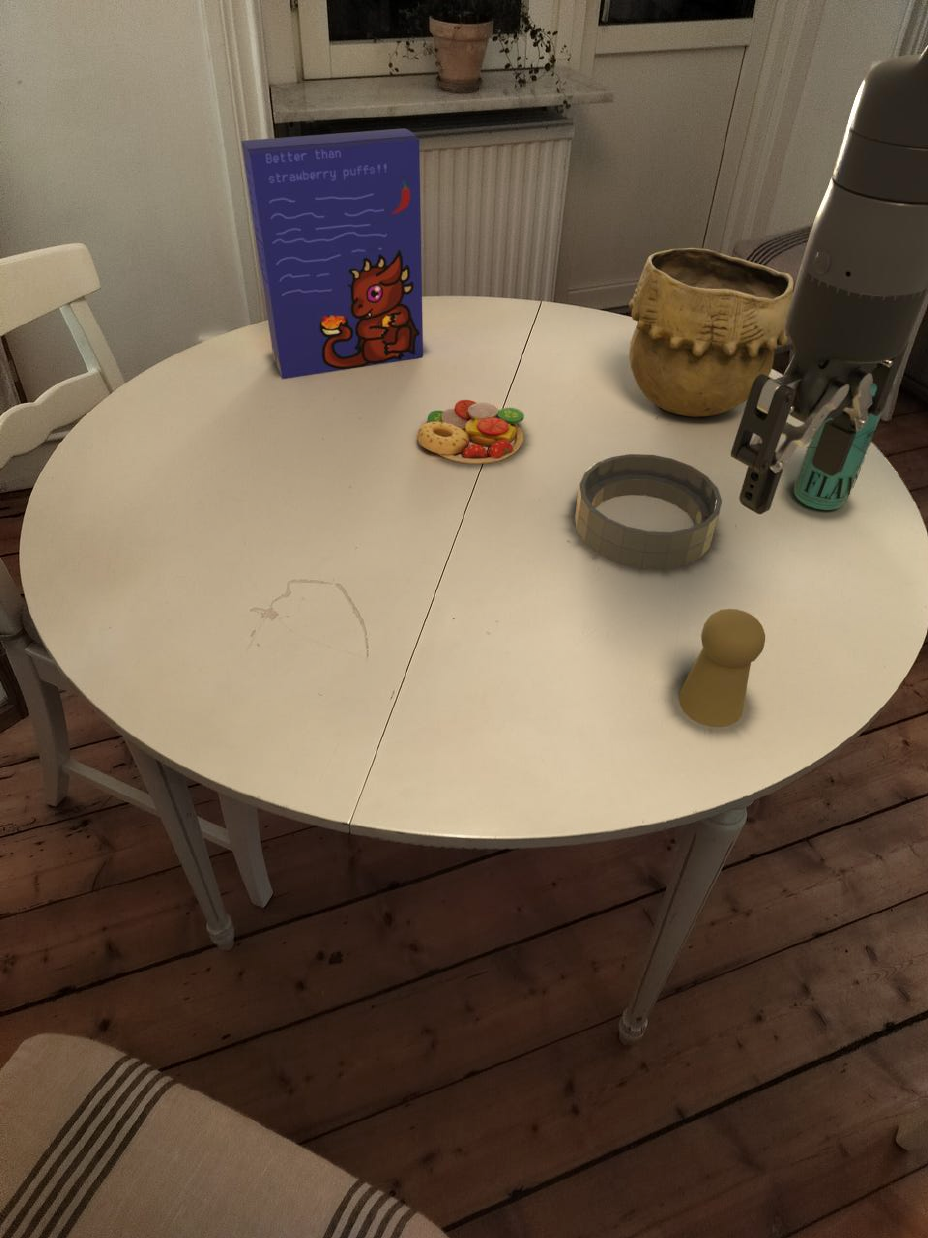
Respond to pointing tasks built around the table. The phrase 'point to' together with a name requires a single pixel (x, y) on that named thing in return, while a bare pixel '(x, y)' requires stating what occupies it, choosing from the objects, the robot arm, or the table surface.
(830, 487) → the beverage bottle
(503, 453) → the toy food set
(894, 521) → the table surface
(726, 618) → the tan game pawn
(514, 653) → the table surface
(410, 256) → the cereal box
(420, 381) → the table surface
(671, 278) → the clay pot
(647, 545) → the tiled ring wall
